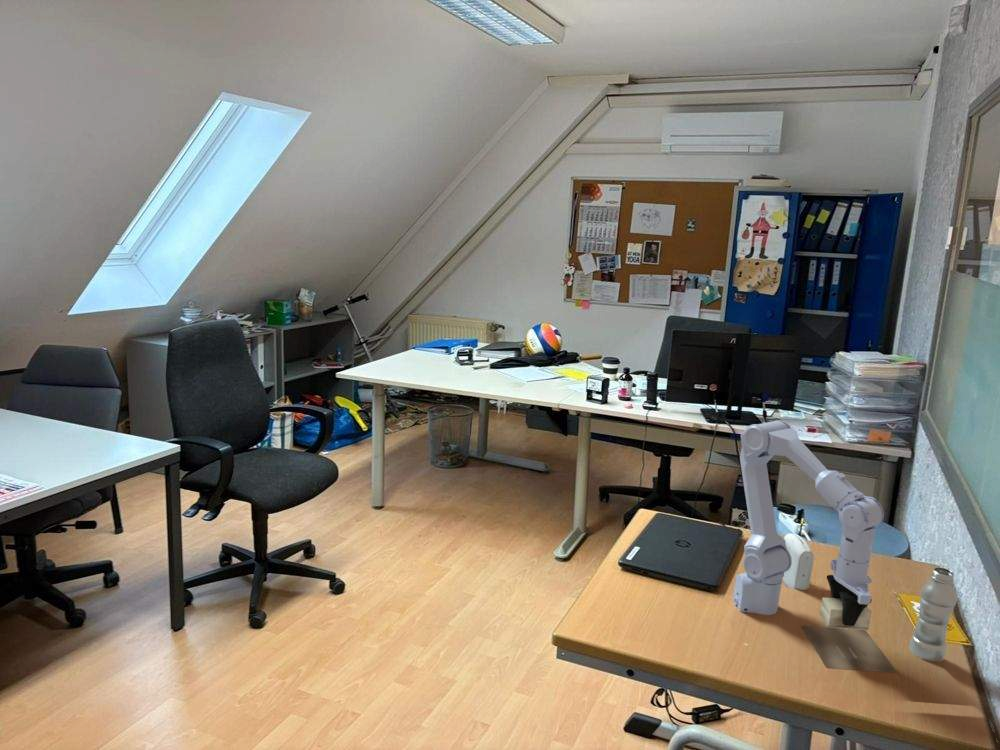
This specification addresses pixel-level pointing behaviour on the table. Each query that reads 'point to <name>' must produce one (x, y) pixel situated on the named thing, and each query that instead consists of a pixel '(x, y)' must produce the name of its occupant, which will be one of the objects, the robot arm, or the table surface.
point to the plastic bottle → (934, 616)
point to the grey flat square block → (847, 649)
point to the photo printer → (798, 562)
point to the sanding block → (833, 614)
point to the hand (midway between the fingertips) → (843, 617)
